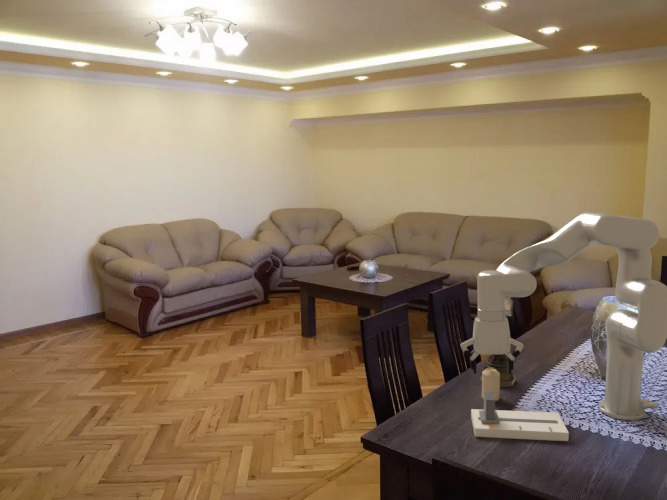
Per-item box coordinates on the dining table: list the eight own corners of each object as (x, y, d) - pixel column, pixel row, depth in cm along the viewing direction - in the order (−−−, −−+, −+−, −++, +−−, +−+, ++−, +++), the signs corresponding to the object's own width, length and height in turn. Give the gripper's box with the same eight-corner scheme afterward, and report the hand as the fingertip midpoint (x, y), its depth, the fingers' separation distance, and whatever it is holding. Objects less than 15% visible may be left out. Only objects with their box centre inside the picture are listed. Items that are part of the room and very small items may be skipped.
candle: (500, 402, 174) (500, 372, 172) (482, 401, 175) (482, 371, 174) (498, 394, 179) (499, 366, 178) (481, 393, 181) (481, 365, 179)
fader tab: (496, 413, 160) (496, 392, 159) (499, 423, 155) (499, 400, 153) (479, 412, 161) (479, 391, 160) (481, 422, 155) (481, 400, 154)
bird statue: (513, 396, 178) (516, 292, 172) (473, 388, 184) (475, 288, 179) (522, 377, 192) (525, 281, 187) (485, 371, 199) (487, 278, 193)
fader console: (557, 420, 161) (557, 412, 161) (568, 441, 149) (568, 432, 149) (471, 416, 165) (471, 408, 164) (475, 436, 153) (475, 428, 153)
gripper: (520, 310, 155) (520, 367, 158) (458, 311, 158) (459, 366, 161) (525, 318, 148) (525, 377, 151) (460, 318, 150) (461, 377, 153)
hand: (491, 372), depth 156 cm, fingers open, 9 cm apart
